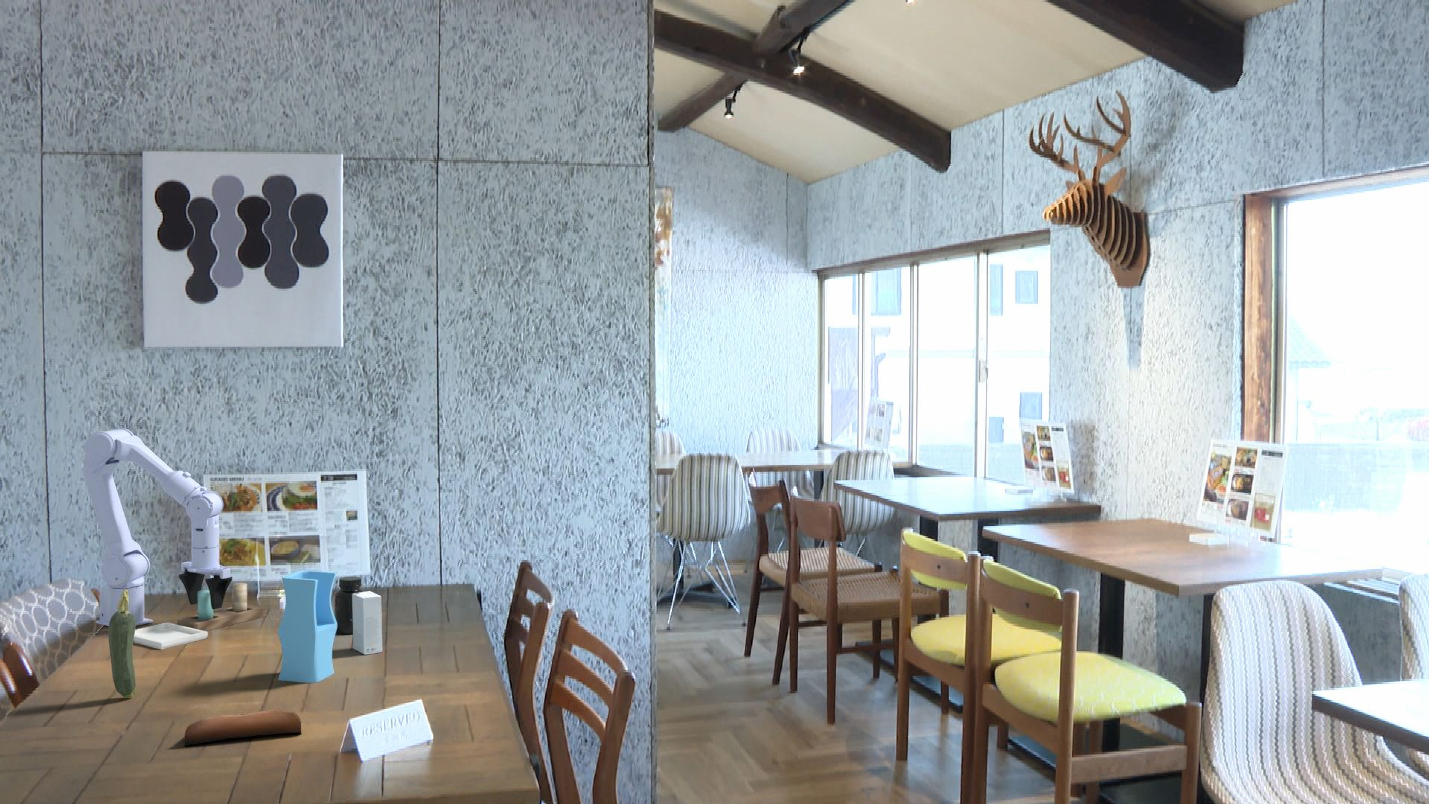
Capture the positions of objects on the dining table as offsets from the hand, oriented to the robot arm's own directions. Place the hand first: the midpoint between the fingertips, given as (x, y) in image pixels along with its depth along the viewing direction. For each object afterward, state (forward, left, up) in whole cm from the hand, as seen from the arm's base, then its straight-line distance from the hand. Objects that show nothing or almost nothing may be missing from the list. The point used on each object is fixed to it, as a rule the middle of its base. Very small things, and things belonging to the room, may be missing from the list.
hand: (205, 606), depth 256 cm
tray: (+2, -12, -5) cm, 13 cm away
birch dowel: (0, +9, -5) cm, 10 cm away
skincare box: (+44, +6, -5) cm, 45 cm away
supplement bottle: (+29, +15, -5) cm, 33 cm away
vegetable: (+32, -41, -5) cm, 52 cm away
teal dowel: (0, 0, -5) cm, 5 cm away
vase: (+48, -13, -5) cm, 50 cm away
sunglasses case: (+64, -40, -5) cm, 76 cm away
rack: (0, +4, -5) cm, 6 cm away
